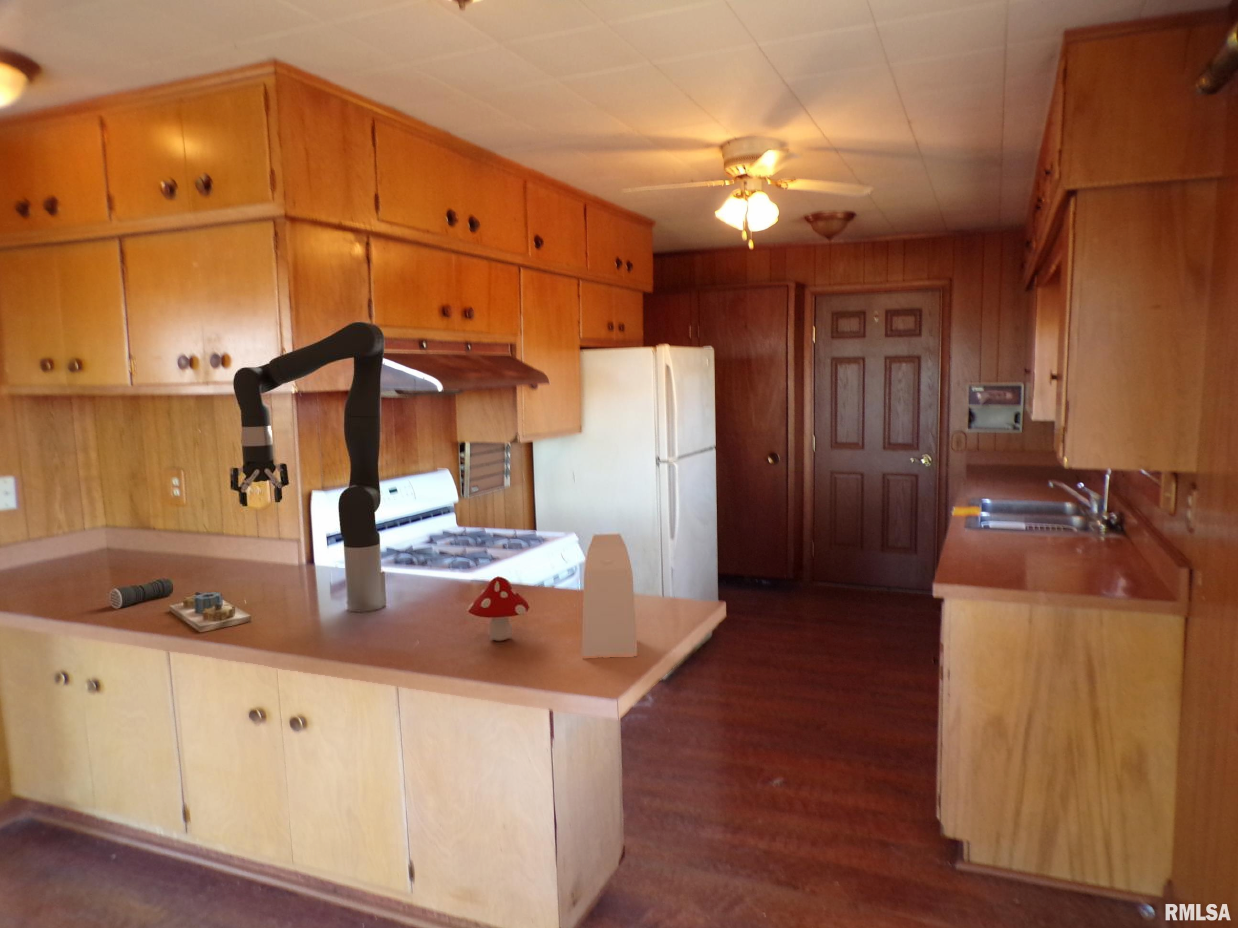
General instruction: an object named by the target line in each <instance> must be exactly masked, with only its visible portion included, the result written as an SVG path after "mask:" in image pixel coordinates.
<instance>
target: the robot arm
mask: <svg viewBox="0 0 1238 928" xmlns="http://www.w3.org/2000/svg"><path fill="white" fill-rule="evenodd" d="M385 347H386V339H385V335H384V332H383V331H382V329H381V328H380V327H379V326H378V325H376V324H374V323H371V322H366V321H354V322H351V323H349V324H347V325H346V326H344V327H341V329H338V330H337V331H335V332H334V333H332V334H331V335H329V336H327V337H324V338H322V339H321V340H318V341H317V342H316V341H315V342H314V343H311V344H309V345H306V346H304V347H301V348H298V349H295V350H292V351H289V352H287V353H285V354H281V355H279V356H276V357H274V358H272V359H271V360H270V361H269V362H268V363H266V364H264V365H260V366H253V367H252V366H251V367H250V366H247V367H240V368H239V369H238V370H237V371H236V372H235V373H234V376H233V381H232V382H233V383H232V385H233V392H234V394H235V397H236V398H235V399H236V401H237V405H238V407H239V410H240V422H241V434H240V436H241V437H240V438H241V439H240V443H241V452H242V454H241V455H242V464H243V465H242V467H234V466H232V467H230V473H229V475H230V476H229V478H230V480H229V482H230V484H229V485H230V489H231V490H232V491H236V492H238V502H239V504H240V505H241V506H242V507H248V496H247V495H248V494H247V490H248V489H249V487H250V486H251V485H252V484H253V483H259V482H267V481H269V482H270V483H271V484H272V486H274V488H273V493H274V494H273V495H274V503H277V504H278V503H281V501H282V500H283V490H282V489H283V488H284V487H286V486H289V484H290V482H289V480H290V479H289V472H288V471H289V470H288V465H287V464H286V463H284V462H279V463H276V464H275V458H274V457H275V456H274V455H275V454H274V442H273V441H274V440H273V438H274V437H273V432H272V426H271V425H272V424H271V413H270V407H269V406H268V405H267V404H266V403H264V402H263V397H262V394H265V393H267V392H270V391H273V390H276V389H277V388H279V387H280V386H282V385H284V384H288V383H291V382H293V381H295V380H299V379H301V378H304V377H306V376H308V375H311V374H313V373H314V372H317V371H318V370H320V369H321V368H323V367H324V366H327V365H329V364H332V363H335V362H338V361H342V360H346V359H352V358H353V378H352V382H351V386H350V387H349V388H350V389H349V391H348V395H347V398H346V401H345V405H344V409H343V410H344V413H343V414H344V415H343V433H344V440H345V445H346V449H347V452H348V457H349V461H350V462H349V464H350V474H349V475H350V476H349V485H348V487H347V488H345V489H344V490H343V491H342V492H341V493H340V495H339V499H338V502H337V503H338V507H337V508H338V519H339V530H340V535H341V539H342V541H343V542H342V543H343V553H344V554H343V555H344V557H343V558H344V571H345V572H344V573H345V575H344V576H345V589H346V592H345V593H346V608H347V611H350V612H353V613H365V612H372V611H377V610H379V609H381V608H384V607H386V606H387V590H386V572H385V570H382V555H381V536H380V533H379V531H378V529H377V523H376V512H377V511H378V509H379V507H380V504H381V500H382V499H381V498H382V497H381V496H382V495H381V485H380V473H379V458H380V450H381V448H380V446H381V431H382V430H381V429H382V427H381V426H382V425H381V424H382V422H381V421H382V371H383V361H384V355H385ZM276 470H277V472H279V478H280V481H279V480H278V478H277V477H276V476H275V474H274V473H275V471H276ZM241 474H244V475H245V476H244V478H243V479H242V481H241V483H240V482H239V476H241ZM239 483H240V485H239Z"/></svg>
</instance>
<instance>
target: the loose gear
mask: <svg viewBox="0 0 1238 928" xmlns="http://www.w3.org/2000/svg"><path fill="white" fill-rule="evenodd" d="M201 593H202V592H201ZM194 597H195V598H194V609H195V613H196V614H197V613H200V614H202V612H203V610H204V609H209V608H212V607H213V606H215V605H216V604H217V603H221V604H222V606H223V602H222V600H223V594H222V592H216V591H212V592H204V593H202V594H201V595H196V596H194Z"/></svg>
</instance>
